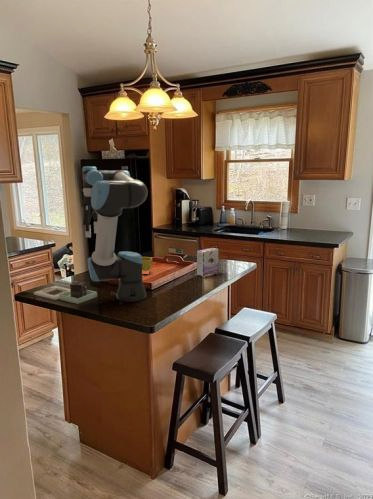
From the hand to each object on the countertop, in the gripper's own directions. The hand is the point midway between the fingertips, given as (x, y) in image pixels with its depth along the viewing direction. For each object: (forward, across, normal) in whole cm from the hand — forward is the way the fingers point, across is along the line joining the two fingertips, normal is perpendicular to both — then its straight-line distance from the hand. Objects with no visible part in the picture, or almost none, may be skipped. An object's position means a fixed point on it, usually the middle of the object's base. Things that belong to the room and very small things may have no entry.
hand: (92, 235), depth 205 cm
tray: (+29, +22, -1) cm, 36 cm away
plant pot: (+29, -28, +22) cm, 46 cm away
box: (+28, +22, -1) cm, 36 cm away
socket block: (+29, +16, -16) cm, 36 cm away
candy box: (+29, -28, +62) cm, 74 cm away
